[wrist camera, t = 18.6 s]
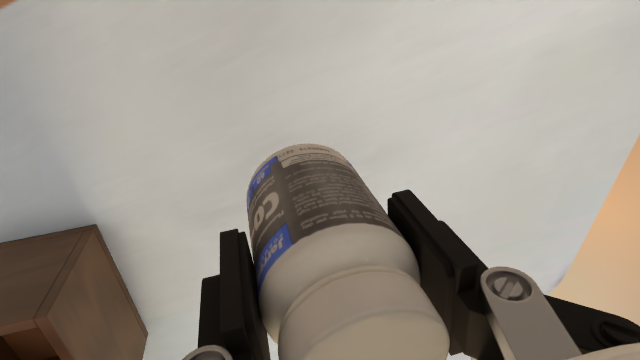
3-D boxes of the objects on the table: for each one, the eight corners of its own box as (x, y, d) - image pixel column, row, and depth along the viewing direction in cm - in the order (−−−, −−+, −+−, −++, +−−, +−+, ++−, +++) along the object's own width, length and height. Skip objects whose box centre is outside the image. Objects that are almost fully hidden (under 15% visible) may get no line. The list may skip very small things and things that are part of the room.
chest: (-61, 255, 32) (-182, 367, 22) (96, 224, 33) (46, 316, 24) (22, 364, 39) (-43, 484, 29) (148, 333, 40) (125, 437, 31)
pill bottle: (240, 145, 14) (262, 315, 7) (358, 136, 15) (487, 276, 8) (249, 246, 16) (273, 455, 9) (352, 232, 17) (448, 411, 10)
